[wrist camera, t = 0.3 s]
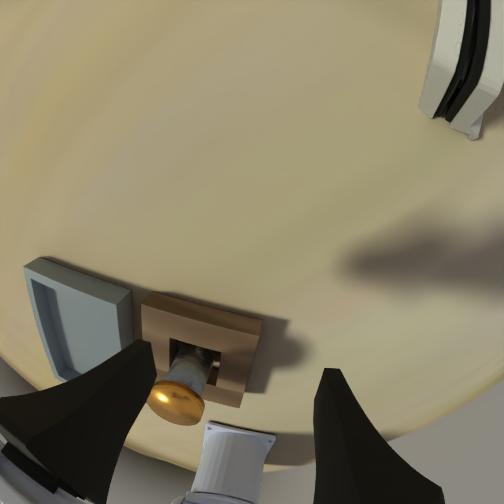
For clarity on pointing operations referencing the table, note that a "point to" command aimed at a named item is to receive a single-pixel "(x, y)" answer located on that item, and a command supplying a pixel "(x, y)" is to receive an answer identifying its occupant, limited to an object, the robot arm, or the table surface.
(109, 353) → the tray
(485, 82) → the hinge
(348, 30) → the table surface
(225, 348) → the holder
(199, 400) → the pin
